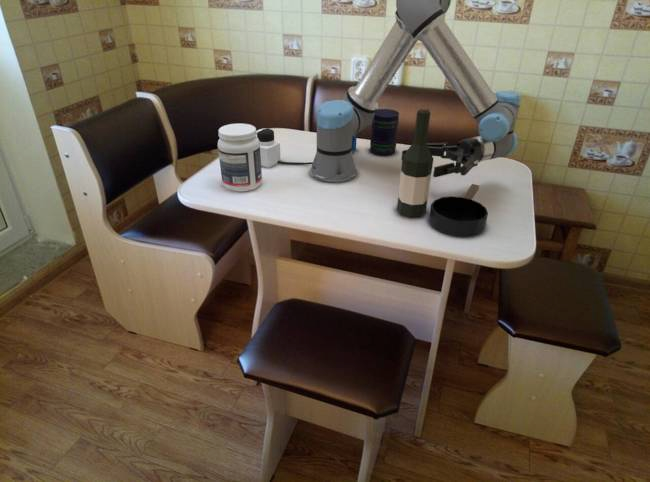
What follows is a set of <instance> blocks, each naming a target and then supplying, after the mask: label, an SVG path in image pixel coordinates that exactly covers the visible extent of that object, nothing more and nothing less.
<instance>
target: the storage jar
mask: <svg viewBox="0 0 650 482" xmlns="http://www.w3.org/2000/svg"><path fill="white" fill-rule="evenodd" d="M399 118H400V112H399V111H397V110H395V109H390V108H379V109H377V110H376V112H375V114H374V118H373V120H372V122H371V136H370V139H369V140H370V141H369V147H370V149H369V153H370V154H372V155H373V156H377V157H390V156H391V157H392V156H394V155H395V154H396V148H397V141H398V138H397V133H398V128H399V122H400V119H399Z"/></svg>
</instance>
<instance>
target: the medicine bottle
mask: <svg viewBox="0 0 650 482" xmlns="http://www.w3.org/2000/svg"><path fill="white" fill-rule="evenodd" d="M256 132H257V135H256V137H257V138H258V139H259V142H260V155H261V167H264V168H268V169H270V168H271V167H273V166H275V165H277V164H279V163H278V161H281V160H282V159H281V143H280V142H277V141H275V131H274V130H273V129H271V128H268V127H267V128H260V129H257V130H256Z"/></svg>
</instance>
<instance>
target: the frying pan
mask: <svg viewBox="0 0 650 482" xmlns="http://www.w3.org/2000/svg"><path fill="white" fill-rule="evenodd" d="M479 189H480V185H479V184H475V183H472V184H470V186H469V187H468V189H467V191H466V192H465V193H464V195H463V196H452V195H451V196H441V197H439V198H435V199H434V200H433V202H432V203H430V210H429V215H428V216H429V218H428V219H429V220H428V222H429V224H430V226H431V227H432V228H433V229H434V230H436V231H438V232H439V233H442V234H444V235H448V236H451V237H458V238H470V237H474V236H475V237H476V236H479V235H480V234H482V233H483V232H484V229H485V227H486V225H487V219H488V216H489V211H488V209H487V207H485V205H484V204H482V203H481V202H478V201H476V200H474V198H475V196H476V194H477V193H478V192H479Z"/></svg>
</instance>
